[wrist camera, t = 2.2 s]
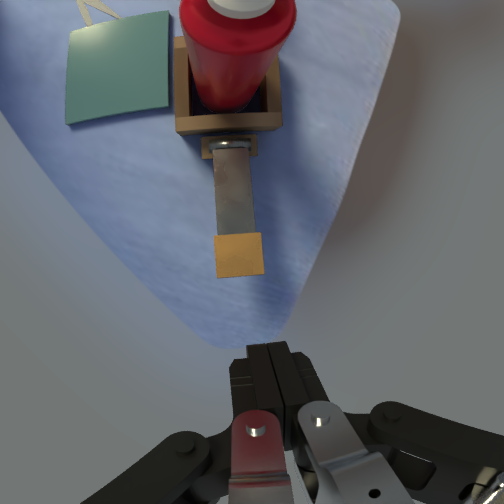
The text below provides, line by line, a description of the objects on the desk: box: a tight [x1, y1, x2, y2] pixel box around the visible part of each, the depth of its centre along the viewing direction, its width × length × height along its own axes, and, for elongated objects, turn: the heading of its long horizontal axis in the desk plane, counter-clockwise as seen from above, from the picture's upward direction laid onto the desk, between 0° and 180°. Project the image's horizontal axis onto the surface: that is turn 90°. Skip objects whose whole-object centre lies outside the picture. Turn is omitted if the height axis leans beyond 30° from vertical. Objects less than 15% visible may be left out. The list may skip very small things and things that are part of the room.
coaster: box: [65, 10, 170, 125], centre depth 24 cm, size 11×11×1 cm
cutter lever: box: [209, 138, 265, 278], centre depth 25 cm, size 12×4×2 cm, turn 3°
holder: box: [174, 36, 283, 159], centre depth 25 cm, size 9×12×4 cm
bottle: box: [179, 0, 297, 114], centre depth 17 cm, size 5×5×20 cm
